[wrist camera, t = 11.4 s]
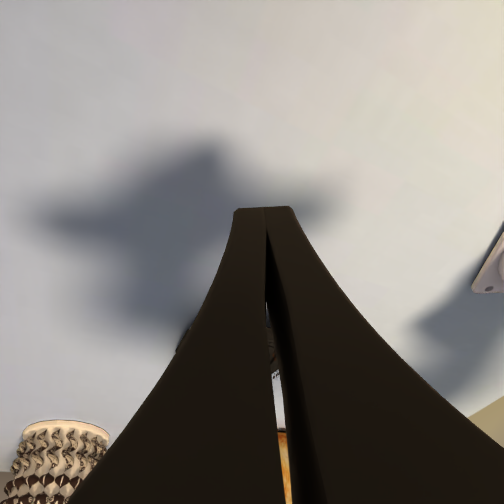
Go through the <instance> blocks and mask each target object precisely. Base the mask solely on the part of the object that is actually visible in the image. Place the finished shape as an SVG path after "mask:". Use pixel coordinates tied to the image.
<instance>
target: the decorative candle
mask: <svg viewBox="0 0 504 504" xmlns="http://www.w3.org/2000/svg"><path fill="white" fill-rule="evenodd" d="M22 435H23V439H24V441H23V442H21V443H20V444H19V448H18V449H17V451H16V452H17V455H18V456H19V457H18V458H17V459H15V460H14V461H13V465H12V466H11V469H10V470H11V472H12V474H13V477H14V480H13V481H10V482H8V483H7V484H6V487H5V488H4V492H5V493H6V494H7V495H8V497H9V498H8V499H6V500H3V501H2V502H1V503H0V504H67V502H68V500H69V498H70V496H71V495H72V493H73V492H74V491H75V490H76V488H77V487H78V486H79V485H80V483H81V482H82V481H83V480H84V479H85V477H86V476H87V475H88V474H89V472H90V471H91V470H92V469H93V468H94V466H95V465H96V464H97V463H98V461H99V460H100V459H101V458H102V456H103V455H104V454H105V453H106V452H107V449H106V446H107V445H108V443H109V434H107V433H106V432H105V431H104V430H103V429H101V428H99V427H96V426H94V425H91V424H87V423H82V422H77V421H64V420H53V421H43V422H38V423H35V424H32V425H29V426H28V427H27V428H26V429H25V430H24V431H23V434H22Z"/></svg>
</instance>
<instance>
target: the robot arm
mask: <svg viewBox="0 0 504 504" xmlns="http://www.w3.org/2000/svg"><path fill="white" fill-rule="evenodd" d="M471 288H472V290H473V292H474V293H499V292H504V232H503V233H502V235H501V237H500V238H499V240H498V242H497V243H496V245H495V247H494V248H493V250H492V252H491V254H490V255H489V257H488V259H487V260H486V262H485V264H484V265H483V267H482V269H481V270H480V272H479V274H478V276H477V277H476V279H475V281H474V282H473V284H472V286H471ZM266 302H267V308H268V313H269V319H270V325H271V330H272V336H273V341H274V347H275V352H276V358H277V363H278V369H279V374H280V380H281V387H282V394H283V403H284V414H285V425H286V437H287V448H288V460H289V472H290V484H291V497H292V504H504V448H503V447H501V446H500V445H499V444H498V443H497V442H495V441H494V440H493V439H492V438H490V437H489V436H488V435H487V434H486V433H484V432H483V431H482V430H481V429H479V428H478V427H477V426H476V425H475V424H473V423H472V422H471V421H470V420H469V419H467V418H466V417H465V416H464V415H463V414H462V413H461V412H459V411H458V410H457V409H456V408H455V407H454V406H452V405H451V404H450V403H449V402H448V401H447V400H446V399H444V398H443V397H442V396H441V395H440V394H439V393H438V392H437V391H436V390H435V389H433V388H432V387H431V386H430V385H429V384H428V383H427V382H426V381H425V380H424V379H423V378H422V377H421V376H420V375H419V374H418V373H417V372H416V371H414V370H413V369H412V368H411V367H410V366H409V365H408V364H407V363H406V362H405V361H404V360H403V359H402V358H401V357H400V356H399V355H398V354H397V353H396V352H395V351H394V350H393V349H392V348H391V347H390V346H389V345H388V344H387V343H386V341H385V340H384V339H383V338H382V337H381V336H380V335H379V334H378V333H377V332H376V331H375V329H374V328H373V327H372V326H371V325H370V324H369V323H368V322H367V320H366V319H365V318H364V317H363V316H362V315H361V313H360V312H359V311H358V310H357V309H356V307H355V306H354V305H353V304H352V302H351V301H350V300H349V299H348V297H347V296H346V295H345V293H344V292H343V291H342V289H341V288H340V287H339V285H338V284H337V283H336V281H335V280H334V278H333V277H332V276H331V274H330V273H329V271H328V270H327V268H326V267H325V265H324V264H323V262H322V261H321V259H320V258H319V256H318V255H317V253H316V252H315V250H314V249H313V247H312V245H311V244H310V242H309V240H308V238H307V237H306V235H305V233H304V231H303V230H302V228H301V226H300V224H299V222H298V220H297V218H296V216H295V214H294V211H293V209H292V208H290V207H289V206H277V207H256V208H238V209H237V210H236V211H235V212H234V214H233V222H232V227H231V232H230V235H229V239H228V242H227V245H226V249H225V252H224V254H223V257H222V260H221V262H220V265H219V268H218V271H217V273H216V276H215V278H214V280H213V283H212V285H211V287H210V289H209V291H208V294H207V296H206V298H205V300H204V302H203V305H202V307H201V309H200V311H199V313H198V315H197V317H196V319H195V320H194V322H193V324H192V326H191V328H190V330H189V332H188V333H187V335H186V337H185V339H184V340H183V342H182V344H181V346H180V347H179V349H178V351H177V352H176V354H175V355H174V357H173V359H172V360H171V362H170V364H169V365H168V367H167V368H166V370H165V372H164V373H163V375H162V376H161V378H160V379H159V381H158V382H157V384H156V385H155V387H154V388H153V390H152V391H151V393H150V394H149V395H148V397H147V398H146V399H145V401H144V402H143V404H142V405H141V406H140V408H139V409H138V411H137V412H136V413H135V415H134V416H133V417H132V419H131V420H130V422H129V423H128V424H127V426H126V427H125V429H124V430H123V431H122V433H121V434H120V435H119V436H118V438H117V439H116V440H115V442H114V443H113V444H112V445H111V447H110V448H109V449H108V450H107V452H106V453H105V454H104V455H103V456H102V458H101V459H100V460H99V461H98V463H97V464H96V465H95V466H94V468H93V469H92V470H91V471H90V472H89V474H88V475H87V476H86V477H85V479H84V480H83V481H82V482H81V483H80V485H79V486H78V487H77V488H76V490H75V491H74V492H73V493H72V495H71V496H70V498H69V500H68V502H67V504H286V499H285V491H284V483H283V474H282V466H281V457H280V449H279V440H278V431H277V422H276V413H275V404H274V395H273V386H272V377H271V367H270V358H269V348H268V338H267V328H266Z"/></svg>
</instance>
